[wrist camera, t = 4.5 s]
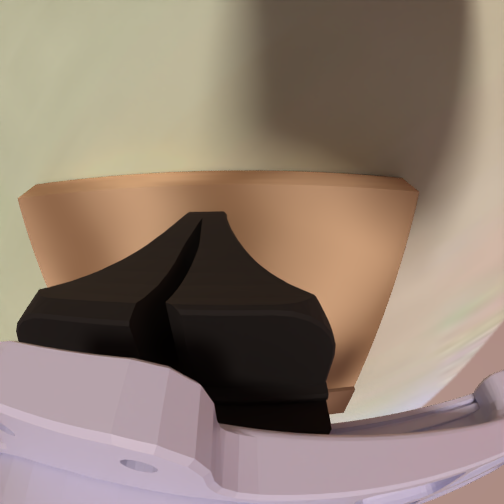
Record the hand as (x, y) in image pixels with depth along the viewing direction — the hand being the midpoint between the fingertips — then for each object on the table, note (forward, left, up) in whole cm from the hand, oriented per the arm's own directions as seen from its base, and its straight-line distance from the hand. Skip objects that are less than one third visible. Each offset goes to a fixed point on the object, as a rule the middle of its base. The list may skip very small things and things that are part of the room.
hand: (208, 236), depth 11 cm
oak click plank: (0, -4, -1) cm, 4 cm away
